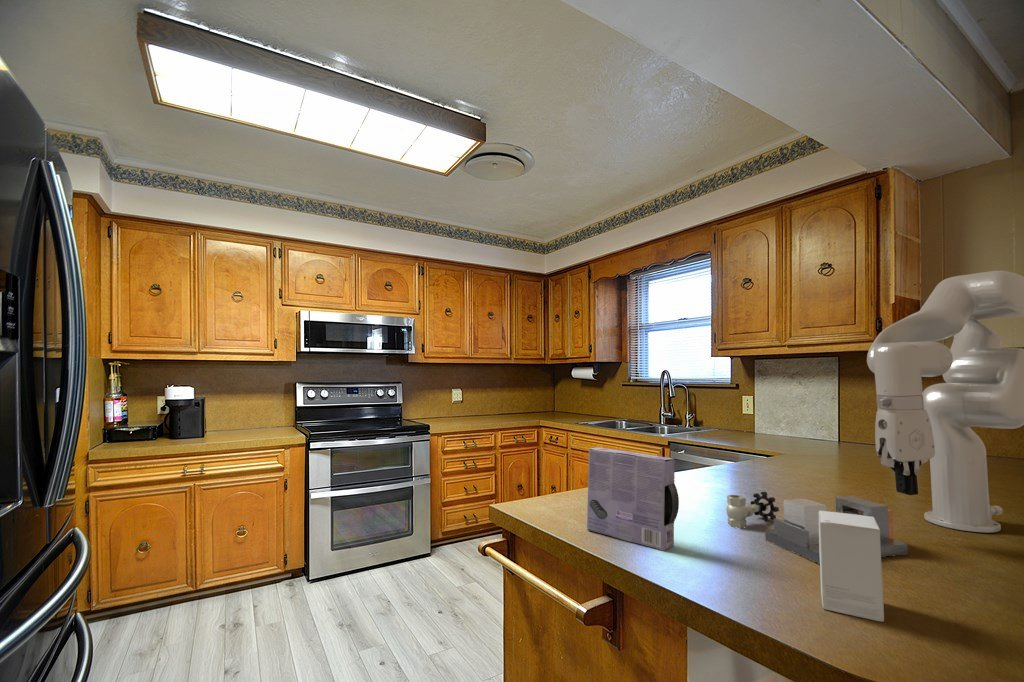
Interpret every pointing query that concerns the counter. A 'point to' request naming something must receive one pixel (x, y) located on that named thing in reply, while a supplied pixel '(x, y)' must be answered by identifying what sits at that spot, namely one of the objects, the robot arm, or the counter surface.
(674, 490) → the cake pan box
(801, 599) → the counter surface
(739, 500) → the valve
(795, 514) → the block
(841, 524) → the supplement box
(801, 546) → the press bed
